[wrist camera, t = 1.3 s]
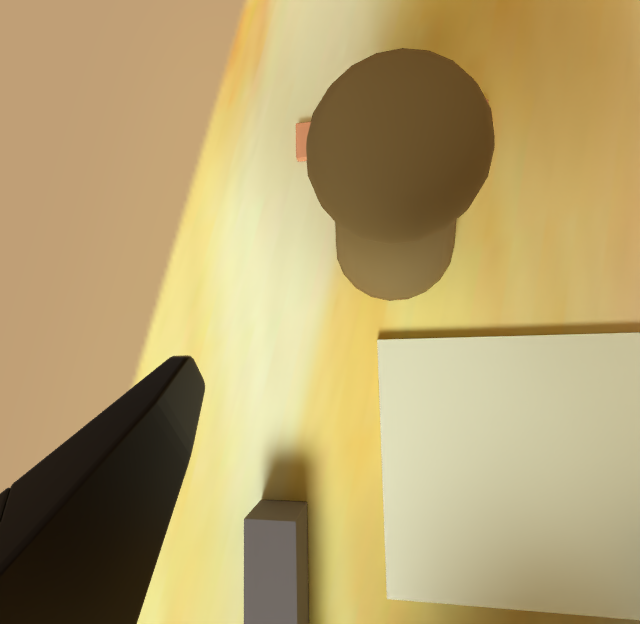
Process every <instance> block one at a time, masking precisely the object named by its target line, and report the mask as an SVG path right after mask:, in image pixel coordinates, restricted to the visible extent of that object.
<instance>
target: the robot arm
mask: <svg viewBox="0 0 640 624" xmlns="http://www.w3.org/2000/svg"><path fill="white" fill-rule="evenodd" d="M204 392H205V383H204V380H203V377H202V375H201V373H200V371H199V369H198V367H197V365H196V363H195V361H194V359H193V358H192V357H191V356H172V357H170V358H169V359H167V360H166V361H165V362H164V363H162V364H161V365H160V366H159V367H157V368H156V369H155V370H154V371H153V372H151V373H150V374H149V375H148V376H146V377H145V378H144V379H143V380H141V381H140V382H139V383H138V384H136V385H135V386H134V387H133V388H131V389H130V390H129V391H128V392H126V393H125V394H124V395H123V396H121V397H120V398H119V399H118V400H116V401H115V402H114V403H113V404H112V405H110V406H109V407H108V408H107V409H105V410H104V411H103V412H102V413H100V414H99V415H98V416H97V417H95V418H94V419H93V420H92V421H90V422H89V423H88V424H87V425H85V426H84V427H83V428H82V429H80V430H79V431H78V432H77V433H76V434H74V435H73V436H72V437H71V438H69V439H68V440H67V441H65V442H64V443H63V444H62V445H60V446H59V447H58V448H57V449H55V450H54V451H53V452H52V453H51V454H49V455H48V456H47V457H46V458H44V459H43V460H42V461H41V462H39V463H38V464H37V465H36V466H35V467H33V468H32V469H31V470H29V471H28V472H27V473H26V474H25V475H23V476H22V477H21V478H19V479H18V480H17V481H16V482H14V483H13V484H12V486H11V488H7V489H5V490H4V491H3V492H2V493H1V494H0V624H137V621H138V618H139V615H140V612H141V609H142V606H143V603H144V599H145V596H146V593H147V590H148V587H149V584H150V581H151V578H152V575H153V572H154V569H155V566H156V562H157V559H158V556H159V553H160V550H161V547H162V544H163V541H164V538H165V535H166V532H167V529H168V525H169V522H170V519H171V516H172V513H173V510H174V507H175V504H176V501H177V498H178V495H179V492H180V488H181V485H182V482H183V479H184V476H185V473H186V470H187V467H188V464H189V460H190V457H191V453H192V449H193V445H194V440H195V435H196V430H197V425H198V421H199V416H200V411H201V406H202V402H203V397H204Z"/></svg>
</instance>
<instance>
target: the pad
mask: <svg viewBox="0 0 640 624" xmlns="http://www.w3.org/2000/svg"><path fill="white" fill-rule="evenodd" d="M377 344H378V371H379V398H380V425H381V452H382V479H383V506H384V533H385V560H386V587H387V599H393V600H405V601H417V602H429V603H440V604H452V605H464V606H476V607H488V608H499V609H511V610H523V611H535V612H547V613H559V614H570V615H582V616H594V617H606V618H618V619H629V620H640V333H604V334H567V335H531V336H495V337H459V338H422V339H386V340H377Z"/></svg>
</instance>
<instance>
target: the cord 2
mask: <svg viewBox="0 0 640 624" xmlns="http://www.w3.org/2000/svg"><path fill="white" fill-rule="evenodd" d="M244 624H309V591H308V529H307V502H300V501H278V500H261V501H260V502H259V503H258V504H257V505H256V506H255V507H254V508H253V510H252V511H251V512H250V513H249V514H248V515H247V516H246V517H245V519H244Z"/></svg>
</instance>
